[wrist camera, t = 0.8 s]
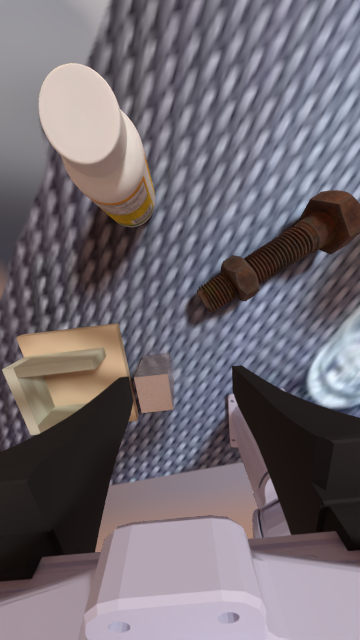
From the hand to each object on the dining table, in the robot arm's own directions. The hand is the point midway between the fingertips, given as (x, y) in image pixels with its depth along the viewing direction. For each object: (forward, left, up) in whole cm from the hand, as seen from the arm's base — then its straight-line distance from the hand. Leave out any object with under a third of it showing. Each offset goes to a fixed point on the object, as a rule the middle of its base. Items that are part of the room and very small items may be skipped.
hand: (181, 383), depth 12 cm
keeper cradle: (-5, +13, -10) cm, 17 cm away
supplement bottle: (+15, +3, -11) cm, 19 cm away
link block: (-5, +3, -10) cm, 12 cm away
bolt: (+8, -10, -11) cm, 16 cm away
